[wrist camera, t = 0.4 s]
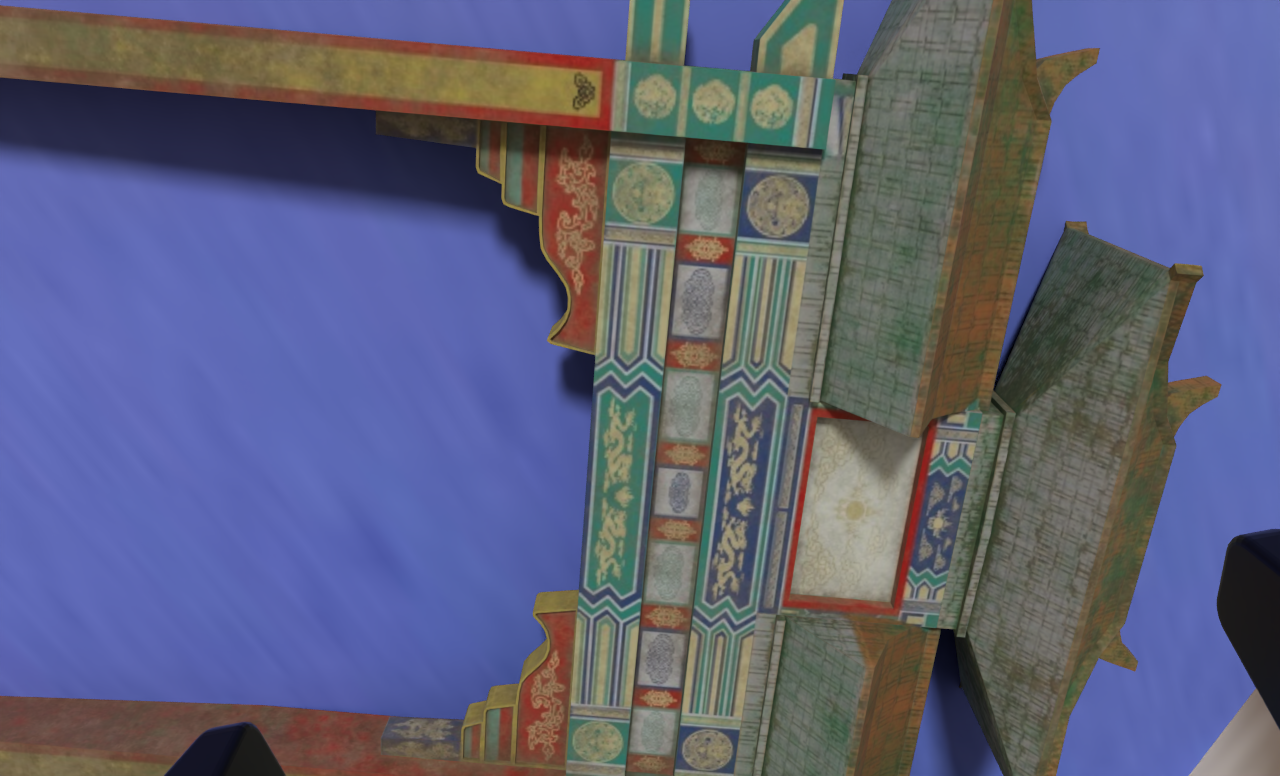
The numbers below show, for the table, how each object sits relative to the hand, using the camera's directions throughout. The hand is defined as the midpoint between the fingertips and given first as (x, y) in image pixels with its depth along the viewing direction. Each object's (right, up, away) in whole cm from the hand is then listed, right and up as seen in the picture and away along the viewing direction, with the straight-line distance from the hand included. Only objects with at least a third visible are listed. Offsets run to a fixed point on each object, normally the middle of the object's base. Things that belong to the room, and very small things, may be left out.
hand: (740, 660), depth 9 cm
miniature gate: (-3, +1, +16) cm, 17 cm away
